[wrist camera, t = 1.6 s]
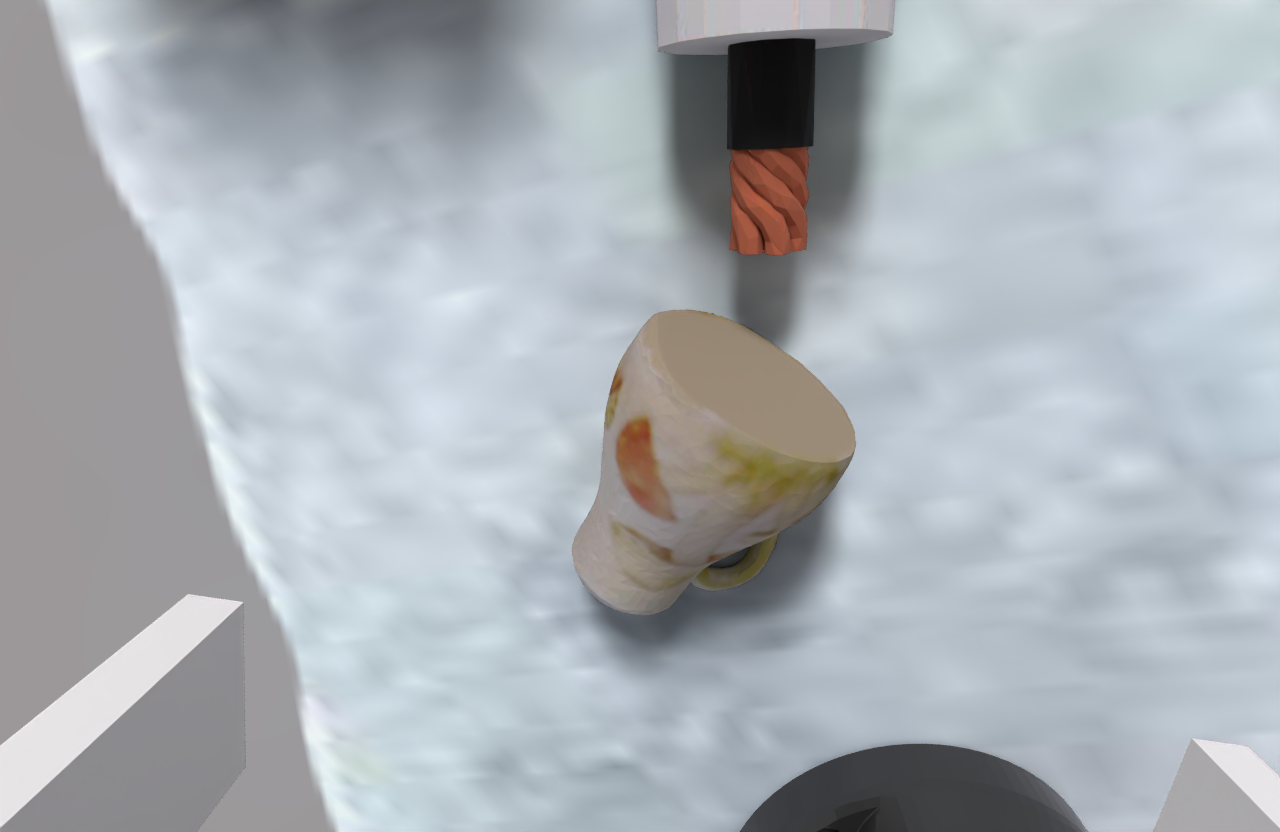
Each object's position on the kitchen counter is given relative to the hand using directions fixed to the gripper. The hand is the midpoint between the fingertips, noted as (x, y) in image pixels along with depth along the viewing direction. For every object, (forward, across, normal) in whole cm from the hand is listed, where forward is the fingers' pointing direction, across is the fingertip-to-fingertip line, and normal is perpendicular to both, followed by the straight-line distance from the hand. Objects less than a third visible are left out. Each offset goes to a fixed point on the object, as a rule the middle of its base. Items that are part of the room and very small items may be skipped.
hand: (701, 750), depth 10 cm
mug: (+16, 0, +1) cm, 16 cm away
